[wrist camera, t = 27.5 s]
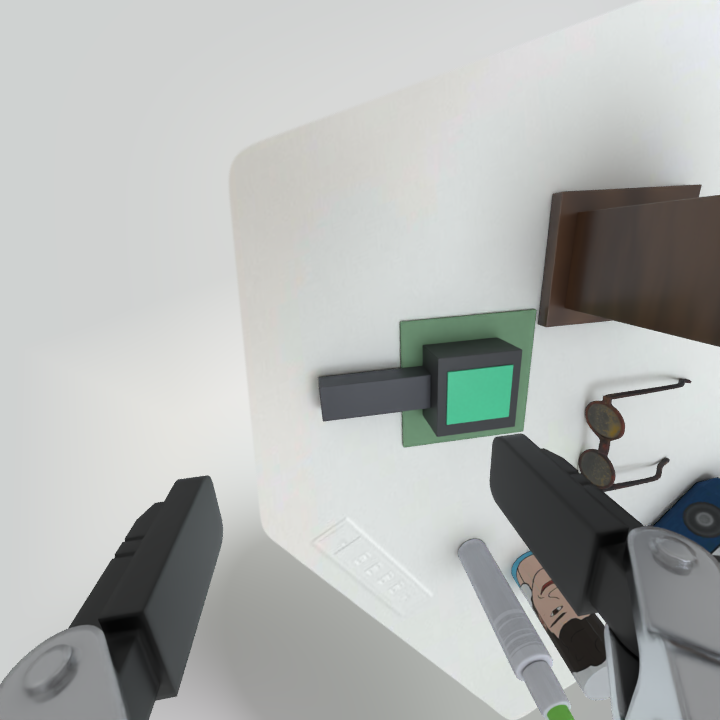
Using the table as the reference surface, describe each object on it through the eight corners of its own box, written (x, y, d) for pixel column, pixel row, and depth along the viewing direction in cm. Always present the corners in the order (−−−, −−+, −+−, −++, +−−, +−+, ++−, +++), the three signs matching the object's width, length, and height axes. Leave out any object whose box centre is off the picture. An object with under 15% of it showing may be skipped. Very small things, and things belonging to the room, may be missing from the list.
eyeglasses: (587, 387, 44) (621, 404, 39) (689, 372, 46) (733, 387, 41) (573, 480, 49) (601, 505, 44) (666, 464, 50) (702, 486, 46)
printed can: (558, 553, 53) (647, 663, 39) (539, 584, 55) (617, 701, 41) (523, 547, 52) (602, 660, 38) (504, 579, 54) (573, 699, 40)
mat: (402, 445, 43) (403, 447, 42) (399, 321, 38) (400, 322, 37) (521, 429, 45) (523, 431, 44) (534, 308, 39) (536, 309, 39)
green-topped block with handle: (324, 428, 40) (326, 453, 35) (316, 355, 37) (316, 372, 32) (492, 406, 42) (516, 427, 37) (497, 337, 39) (524, 350, 34)
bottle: (453, 559, 51) (537, 744, 32) (464, 536, 49) (559, 715, 31) (478, 562, 52) (574, 744, 33) (490, 540, 50) (597, 716, 32)
